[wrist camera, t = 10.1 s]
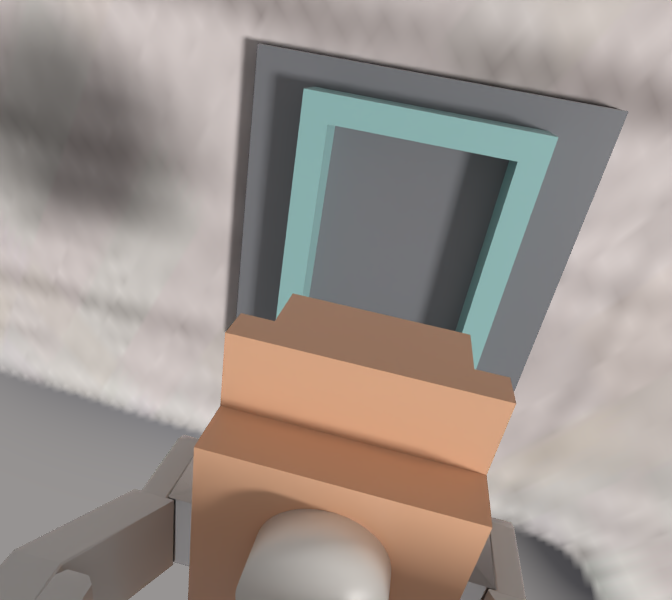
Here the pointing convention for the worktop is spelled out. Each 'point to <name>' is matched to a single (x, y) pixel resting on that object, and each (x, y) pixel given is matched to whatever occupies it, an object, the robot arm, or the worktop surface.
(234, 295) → the worktop surface
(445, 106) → the plate
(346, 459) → the block
